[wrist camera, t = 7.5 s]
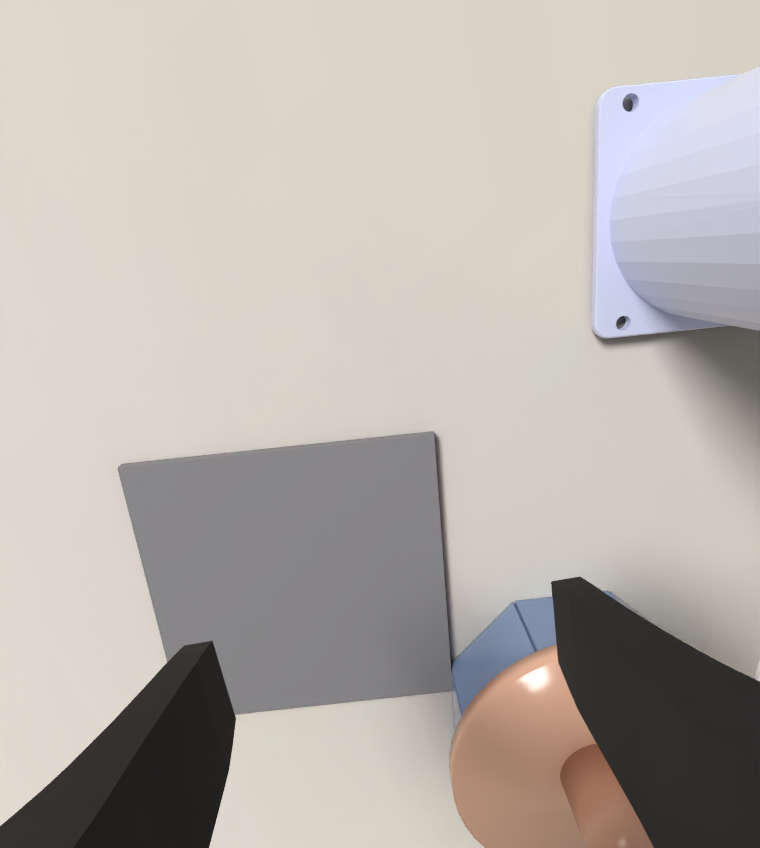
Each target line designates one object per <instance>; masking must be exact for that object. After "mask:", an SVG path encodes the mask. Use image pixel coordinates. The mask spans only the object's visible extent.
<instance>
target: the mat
mask: <svg viewBox="0 0 760 848" xmlns="http://www.w3.org/2000/svg"><path fill="white" fill-rule="evenodd" d="M118 472H119V476H120V480H121V484H122V487H123V491H124V495H125V499H126V503H127V507H128V511H129V515H130V518H131V522H132V526H133V530H134V534H135V538H136V542H137V546H138V550H139V553H140V557H141V561H142V565H143V569H144V573H145V577H146V581H147V584H148V588H149V592H150V596H151V600H152V604H153V608H154V612H155V616H156V619H157V623H158V627H159V631H160V635H161V639H162V643H163V647H164V650H165V654H166V658H167V662H168V661H169V660H170V659H171V658H172V657H173V656H174V655H175V654H176V653H177V652H178V651H179V650H180V649H181V648H182V647H183V646H184V645H190V644H196V643H201V642H207V641H213V644H214V647H215V651H216V654H217V657H218V661H219V664H220V667H221V671H222V674H223V677H224V681H225V684H226V687H227V691H228V694H229V697H230V701H231V704H232V707H233V711H234V714H243V713H253V712H262V711H271V710H280V709H290V708H299V707H308V706H317V705H327V704H336V703H345V702H354V701H364V700H373V699H382V698H392V697H401V696H410V695H419V694H429V693H438V692H447V691H453V688H452V674H451V660H450V646H449V633H448V619H447V605H446V591H445V577H444V563H443V549H442V536H441V522H440V508H439V494H438V480H437V466H436V452H435V439H434V433H433V432H423V433H413V434H404V435H394V436H385V437H375V438H366V439H356V440H347V441H337V442H328V443H318V444H308V445H299V446H289V447H280V448H270V449H261V450H251V451H242V452H232V453H222V454H213V455H203V456H194V457H184V458H175V459H165V460H156V461H146V462H137V463H127V464H121V465H120V466H119V467H118Z"/></svg>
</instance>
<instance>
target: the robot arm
mask: <svg viewBox="0 0 760 848" xmlns="http://www.w3.org/2000/svg"><path fill="white" fill-rule="evenodd" d="M625 97H629V98H630V99H631V100H632V102H633V108H632V110H631V111H630V112H628V111H626V110H625V109H624V108H623V104H622V103H623V99H624V98H625ZM621 316H624V317H625V320H626V322H625V325H624V326H623V327H622V328H620V329H618V328H617V326H616V322H617V320H618V318H619V317H621ZM724 326H736V327H741V328H747V329H752V330H757V331H760V66H759V67H757V68H755V69H753V70H751V71H748V72H746V73H744V74H737V75H727V76H717V77H708V78H698V79H688V80H678V81H668V82H658V83H648V84H638V85H628V86H618V87H613V88H610V89H608V90H606V91H605V92H604V93H603V94H601V95H600V96H599V98H598V100H597V102H596V107H595V149H594V209H593V270H592V330H593V332H594V333H595V334H596V335H598V336H599V337H602V338H618V337H627V336H637V335H647V334H656V333H666V332H675V331H685V330H695V329H704V328H714V327H724ZM551 584H552V596H553V608H554V620H555V632H556V644H557V655H558V663H559V666H560V668H561V671H562V673H563V676H564V678H565V680H566V683H567V685H568V688H569V690H570V693H571V695H572V697H573V700H574V702H575V704H576V707H577V709H578V711H579V713H580V714H581V716H582V718H583V720H584V722H585V724H586V725H587V727H588V729H589V731H590V733H591V734H592V736H593V738H594V740H595V742H596V743H597V745H598V747H599V749H600V751H601V752H602V754H603V756H604V758H605V759H606V761H607V763H608V765H609V767H610V768H611V770H612V772H613V774H614V775H615V777H616V779H617V781H618V783H619V784H620V786H621V788H622V790H623V791H624V793H625V795H626V797H627V799H628V800H629V802H630V804H631V806H632V807H633V809H634V811H635V813H636V815H637V816H638V818H639V820H640V822H641V824H642V826H643V828H644V830H645V832H646V834H647V836H648V838H649V840H650V841H651V843H652V845H653V847H654V848H760V681H757V680H755V679H753V678H751V677H749V676H747V675H745V674H743V673H741V672H738V671H736V670H734V669H732V668H730V667H728V666H726V665H724V664H722V663H720V662H718V661H717V660H715V659H713V658H711V657H709V656H707V655H706V654H704V653H702V652H700V651H698V650H696V649H695V648H693V647H691V646H689V645H687V644H686V643H684V642H682V641H680V640H679V639H677V638H675V637H674V636H672V635H670V634H668V633H667V632H665V631H663V630H662V629H660V628H658V627H657V626H655V625H654V624H652V623H650V622H649V621H647V620H646V619H644V618H642V617H641V616H639V615H638V614H636V613H635V612H633V611H631V610H630V609H628V608H627V607H625V606H624V605H622V604H621V603H619V602H618V601H616V600H615V599H613V598H612V597H610V596H609V595H607V594H606V593H604V592H603V591H601V590H600V589H598V588H597V587H595V586H594V585H592V584H591V583H589V582H588V581H586V580H584V579H583V578H581V577H575V578H570V579H564V580H558V581H552V582H551ZM235 721H236V717H235V714H234V711H233V707H232V704H231V701H230V697H229V694H228V691H227V687H226V684H225V681H224V677H223V674H222V671H221V667H220V664H219V661H218V657H217V654H216V651H215V647H214V644H213V641H207V642H201V643H196V644H190V645H184V646H183V647H182V648H181V649H180V650H179V651H178V652H177V653H176V654H175V655H174V656H173V657H172V658H171V659H170V660H169V661H168V662H167V663H166V665H165V666H164V667H163V668H162V669H161V670H160V671H159V672H158V673H157V674H156V675H155V677H154V678H153V679H152V680H151V681H150V682H149V683H148V684H147V685H146V686H145V687H144V689H143V690H142V691H141V692H140V693H139V694H138V695H137V696H136V697H135V698H134V699H133V700H132V701H131V703H130V704H129V705H128V706H127V707H126V708H125V709H124V710H123V711H122V712H121V713H120V714H119V715H118V717H117V718H116V719H115V720H114V721H113V722H112V723H111V724H110V725H109V726H108V727H107V728H106V729H105V730H104V731H103V732H102V733H101V734H100V735H99V736H98V737H97V738H96V739H95V740H94V741H93V742H92V743H91V744H90V745H89V746H88V747H87V748H86V749H85V750H84V751H83V752H82V753H81V754H80V755H79V756H78V757H77V758H76V759H75V760H74V761H73V762H72V763H71V764H70V765H69V766H68V767H67V768H66V769H65V770H64V771H62V772H61V773H60V774H59V775H58V776H57V777H56V778H55V779H54V780H53V781H52V782H51V783H50V784H48V785H47V786H46V787H45V788H44V789H43V790H42V791H41V792H40V793H38V794H37V795H36V796H35V797H34V798H33V799H32V800H30V801H29V802H28V803H27V804H26V805H25V806H23V807H22V808H21V809H20V810H19V811H18V812H17V813H15V814H14V815H13V816H12V817H11V818H10V819H8V820H7V821H6V822H5V823H4V824H2V825H1V826H0V848H209V845H210V841H211V837H212V834H213V830H214V826H215V822H216V819H217V815H218V811H219V807H220V803H221V799H222V795H223V791H224V787H225V783H226V779H227V775H228V771H229V766H230V759H231V752H232V745H233V737H234V729H235Z"/></svg>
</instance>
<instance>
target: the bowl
mask: <svg viewBox="0 0 760 848" xmlns="http://www.w3.org/2000/svg"><path fill="white" fill-rule="evenodd" d="M604 593H606V594H607V595H609V596H610V597H612V598H613V599H615V600H616V601H618V602H619V603H621V604H622V605H624V606H625V607H627V608H628V609H630V610H631V611H633V612H635V613H636V614H638V613H637V612H636V611H634V610H633V609H632V608H631V607H629V606H628V605H627V604H626V603H624V602H623V601H622V600H620V599H619V598H618V597H617V596H615V595H614V594H613V593H611V592H610V593H609V592H608V591H604ZM638 615H639V616H641V615H640V614H638ZM641 617H642V616H641ZM642 618H643V617H642ZM644 619H645V618H644ZM555 644H556V632H555V620H554V608H553V597H548V598H538V599H529V600H520V601H515V604H514V603H513V602H512V603H511V604H510V605H509V606H508V607H507V608H506V609H505V610H504V611H503V612H502V613H501V614H500V615H499V616H498V617H497V618H496V619H495V620H494V621H493V622H492V623H491V624H490V625H489V626H488V627H487V628H486V629H485V630H484V631H483V632H482V633H481V634H480V635H479V636H478V637H477V638H476V639H475V640H474V641H473V642H472V643H471V644H470V645H469V646H468V647H467V648H466V649H465V650H464V651H463V652H462V653H461V654H460V655H459V656H458V657H457V658H456V659H455V660H454V661H453V662H452V663H451V674H452V688H453V691H452V701H453V715H454V729H455V730H456V727H457V724H458V722H459V721H460V719H461V717H462V715H463V713H464V711H465V710H466V708H467V707H468V705H469V704H470V703H471V701H472V700H473V698H474V697H475V696H476V695H477V694H478V693H479V692H480V691H481V689H482V688H483V687H484V686H485V685H486V684H487V683H488V682H489V681H491V680H492V679H493V678H494V677H495V676H497V675H498V674H499V673H500V672H501V671H503V670H504V669H506V668H507V667H509V666H511V665H512V664H514V663H515V662H517V661H518V660H520V659H522V658H524V657H526V656H528V655H530V654H532V653H534V652H536V651H539V650H542V649H544V648H547V647H550V646H552V645H555Z"/></svg>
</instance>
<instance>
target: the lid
mask: <svg viewBox="0 0 760 848" xmlns="http://www.w3.org/2000/svg"><path fill="white" fill-rule="evenodd" d="M449 770H450V777H451V783H452V789H453V795H454V800H455V803H456V806H457V810H458V813H459V815H460V817H461V819H462V821H463V822H464V824H465V826H466V828H467V829H468V830H469V831H470V833H471V834H472V835H473V837H474V838H475V839H476V840H477V841H478V842H479V843H480V844H481V845H482V846H484V847H485V848H654V847H653V845H652V843H651V841H650V840H649V838H648V836H647V834H646V832H645V830H644V828H643V826H642V824H641V822H640V820H639V818H638V816H637V815H636V813H635V811H634V809H633V807H632V806H631V804H630V802H629V800H628V799H627V797H626V795H625V793H624V791H623V790H622V788H621V786H620V784H619V783H618V781H617V779H616V777H615V775H614V774H613V772H612V770H611V768H610V767H609V765H608V763H607V761H606V759H605V758H604V756H603V754H602V752H601V751H600V749H599V747H598V745H597V743H596V742H595V740H594V738H593V736H592V734H591V733H590V731H589V729H588V727H587V725H586V724H585V722H584V720H583V718H582V716H581V714H580V713H579V711H578V709H577V707H576V704H575V702H574V700H573V697H572V695H571V693H570V690H569V688H568V685H567V683H566V680H565V678H564V676H563V673H562V671H561V668H560V666H559V663H558V655H557V644H555V645H552V646H550V647H547V648H544V649H542V650H539V651H536V652H534V653H532V654H530V655H528V656H526V657H524V658H522V659H520V660H518V661H517V662H515V663H514V664H512V665H511V666H509V667H507V668H506V669H504V670H503V671H501V672H500V673H499V674H498V675H497V676H495V677H494V678H493V679H492V680H491V681H489V682H488V683H487V684H486V685H485V686H484V687H483V688H482V689H481V691H480V692H479V693H478V694H477V695H476V696H475V697H474V698H473V700H472V701H471V703H470V704H469V705H468V707H467V708H466V710H465V711H464V713H463V715H462V717H461V719H460V721H459V722H458V724H457V727H456V730H455V733H454V735H453V738H452V743H451V748H450V755H449Z"/></svg>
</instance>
